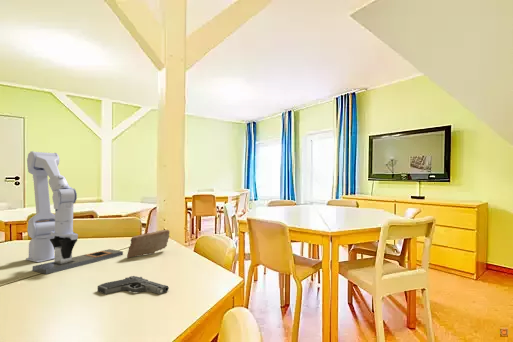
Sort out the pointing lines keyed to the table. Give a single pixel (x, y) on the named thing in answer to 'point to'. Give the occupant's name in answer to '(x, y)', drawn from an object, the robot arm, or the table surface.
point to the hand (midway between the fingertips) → (63, 257)
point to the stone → (148, 243)
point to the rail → (77, 261)
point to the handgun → (132, 286)
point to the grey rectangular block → (61, 257)
